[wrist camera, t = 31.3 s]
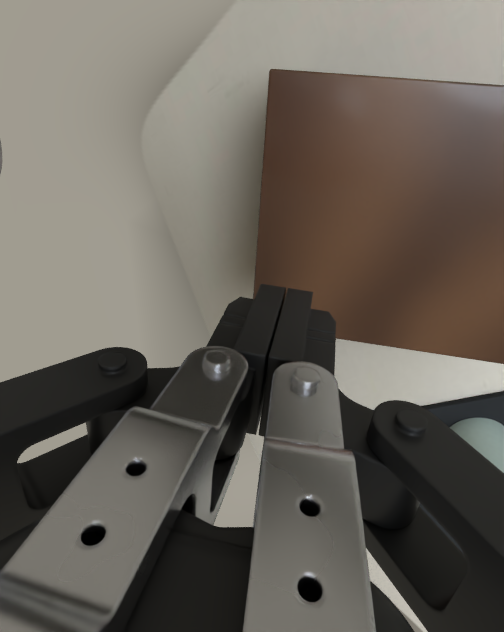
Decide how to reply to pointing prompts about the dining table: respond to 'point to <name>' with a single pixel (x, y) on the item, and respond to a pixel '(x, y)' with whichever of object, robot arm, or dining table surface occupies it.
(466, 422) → the canister
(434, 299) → the chest lid
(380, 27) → the dining table surface
